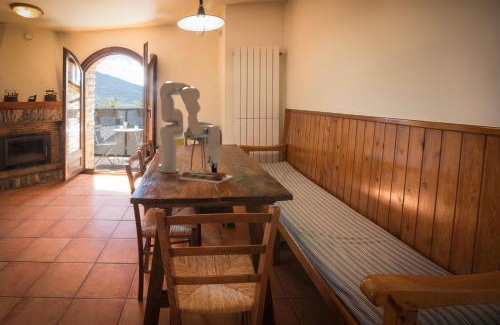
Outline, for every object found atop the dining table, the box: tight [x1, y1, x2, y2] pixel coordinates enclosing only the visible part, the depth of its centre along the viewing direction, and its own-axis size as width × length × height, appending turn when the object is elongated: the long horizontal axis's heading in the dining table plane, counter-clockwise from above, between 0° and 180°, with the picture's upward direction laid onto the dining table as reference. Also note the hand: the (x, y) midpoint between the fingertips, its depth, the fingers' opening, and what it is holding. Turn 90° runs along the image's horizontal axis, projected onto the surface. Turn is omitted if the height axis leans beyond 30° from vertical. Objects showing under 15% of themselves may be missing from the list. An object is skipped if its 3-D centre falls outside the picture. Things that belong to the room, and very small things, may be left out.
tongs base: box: [181, 171, 222, 181], centre depth 226 cm, size 26×3×3 cm, turn 66°
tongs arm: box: [191, 171, 227, 177], centre depth 232 cm, size 22×3×2 cm, turn 88°
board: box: [178, 174, 234, 184], centre depth 231 cm, size 27×20×1 cm
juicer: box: [190, 137, 207, 172], centre depth 259 cm, size 10×11×30 cm
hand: (214, 173), depth 235 cm, fingers closed
